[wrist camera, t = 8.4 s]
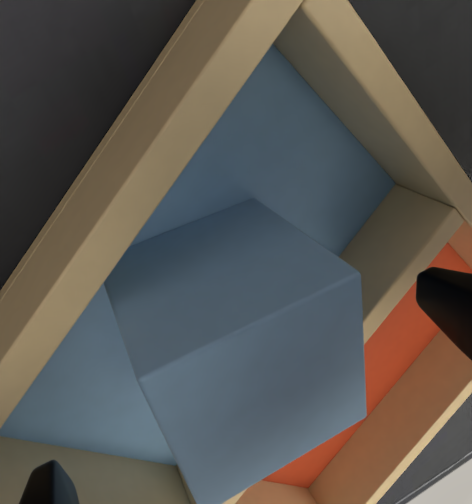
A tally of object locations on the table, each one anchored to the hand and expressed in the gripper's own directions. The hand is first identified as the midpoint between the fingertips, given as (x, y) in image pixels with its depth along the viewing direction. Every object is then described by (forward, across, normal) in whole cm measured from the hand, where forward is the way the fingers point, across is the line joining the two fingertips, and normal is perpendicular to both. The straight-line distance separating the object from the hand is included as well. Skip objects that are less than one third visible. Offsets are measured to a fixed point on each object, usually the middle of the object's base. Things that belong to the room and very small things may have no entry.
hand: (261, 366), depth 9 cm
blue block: (+4, 0, 0) cm, 4 cm away
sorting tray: (+4, -2, +3) cm, 6 cm away
